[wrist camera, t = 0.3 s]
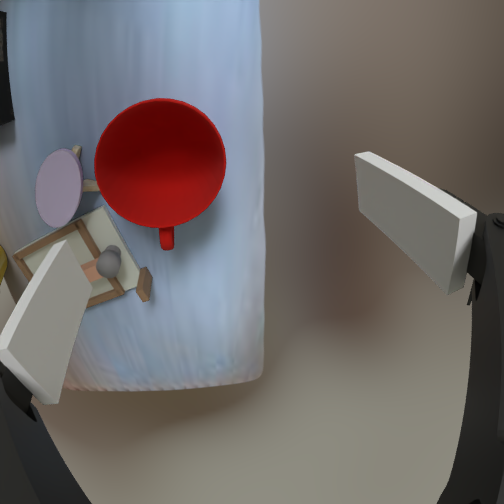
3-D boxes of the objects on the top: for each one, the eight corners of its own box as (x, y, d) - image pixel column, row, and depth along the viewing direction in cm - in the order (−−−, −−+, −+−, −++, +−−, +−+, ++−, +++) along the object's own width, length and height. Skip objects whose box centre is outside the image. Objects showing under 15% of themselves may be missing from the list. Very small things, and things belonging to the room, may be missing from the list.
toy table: (59, 129, 32) (40, 138, 27) (116, 158, 36) (105, 170, 31) (36, 194, 36) (18, 210, 31) (88, 220, 39) (76, 240, 34)
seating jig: (16, 251, 39) (1, 270, 34) (111, 201, 39) (101, 218, 34) (59, 312, 46) (50, 334, 41) (152, 277, 45) (149, 300, 41)
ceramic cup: (125, 225, 41) (110, 265, 32) (112, 100, 32) (88, 107, 24) (218, 219, 43) (226, 257, 34) (218, 92, 34) (227, 95, 26)
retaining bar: (114, 246, 39) (111, 254, 37) (125, 265, 40) (123, 273, 39) (37, 280, 39) (33, 288, 37) (49, 296, 40) (45, 305, 39)
